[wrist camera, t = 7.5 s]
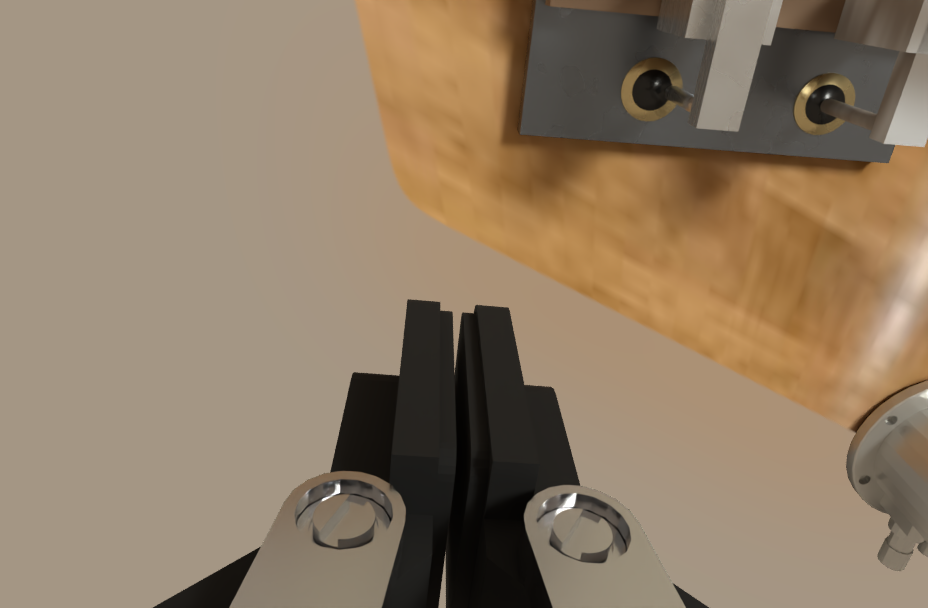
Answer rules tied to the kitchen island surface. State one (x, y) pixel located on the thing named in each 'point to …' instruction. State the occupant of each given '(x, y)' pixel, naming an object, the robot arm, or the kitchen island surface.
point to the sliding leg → (720, 54)
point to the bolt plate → (678, 63)
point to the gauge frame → (859, 21)
